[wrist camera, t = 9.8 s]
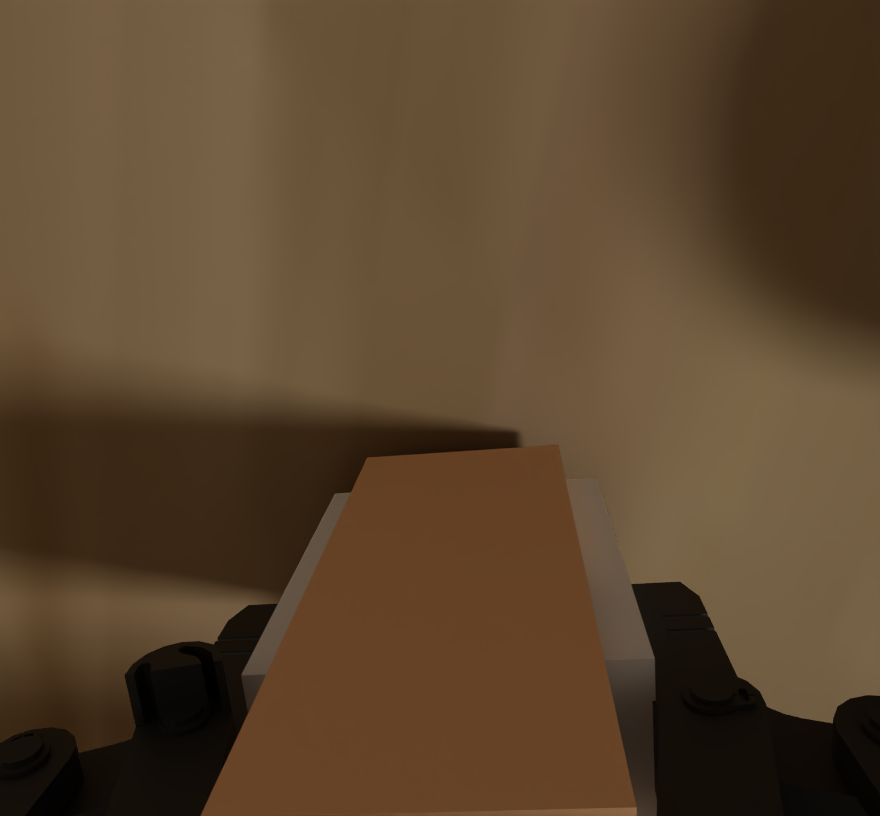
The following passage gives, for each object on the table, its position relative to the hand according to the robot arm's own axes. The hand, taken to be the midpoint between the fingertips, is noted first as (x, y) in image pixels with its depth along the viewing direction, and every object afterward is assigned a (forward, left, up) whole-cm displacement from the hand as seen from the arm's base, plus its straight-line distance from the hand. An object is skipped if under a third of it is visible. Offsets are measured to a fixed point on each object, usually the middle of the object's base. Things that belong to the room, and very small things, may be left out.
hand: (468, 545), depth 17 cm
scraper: (+6, 0, 0) cm, 6 cm away
